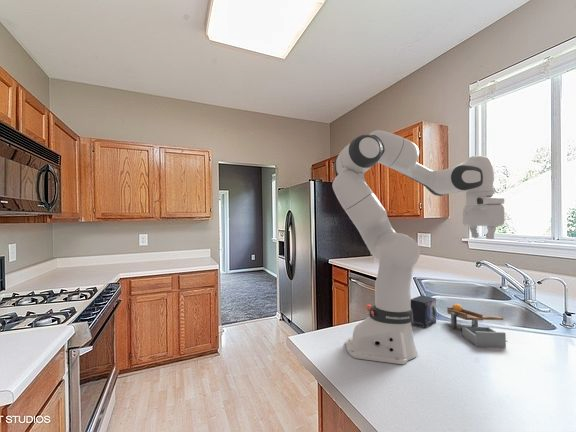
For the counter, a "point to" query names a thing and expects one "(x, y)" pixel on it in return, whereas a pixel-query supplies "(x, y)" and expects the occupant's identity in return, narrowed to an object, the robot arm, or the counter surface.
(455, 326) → the stand
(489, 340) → the bin
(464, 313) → the brown wooden tray
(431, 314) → the small box
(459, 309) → the ball
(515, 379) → the counter surface
